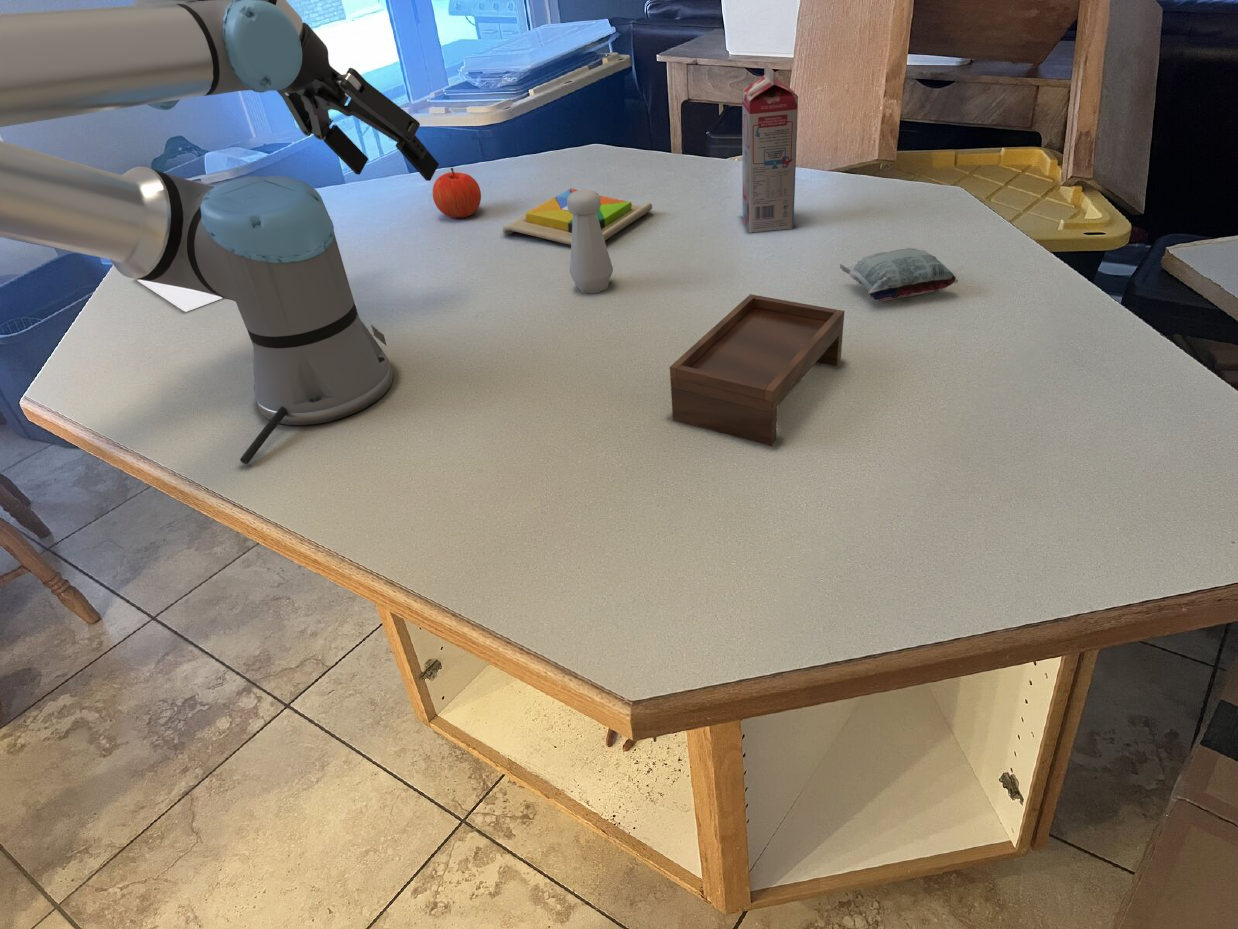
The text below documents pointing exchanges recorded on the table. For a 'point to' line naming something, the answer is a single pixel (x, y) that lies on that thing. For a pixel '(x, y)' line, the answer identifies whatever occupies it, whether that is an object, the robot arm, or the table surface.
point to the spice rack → (753, 365)
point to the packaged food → (900, 274)
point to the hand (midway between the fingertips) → (396, 169)
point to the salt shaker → (588, 243)
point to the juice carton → (768, 154)
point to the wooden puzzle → (557, 220)
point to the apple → (456, 194)
